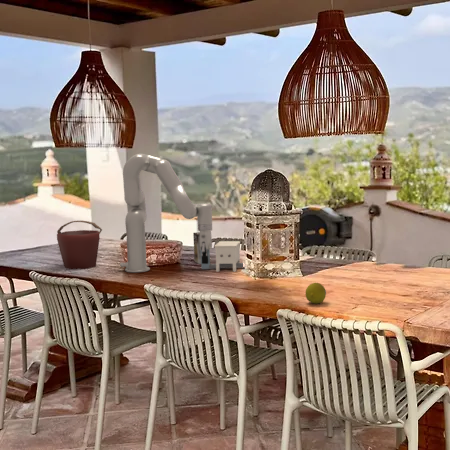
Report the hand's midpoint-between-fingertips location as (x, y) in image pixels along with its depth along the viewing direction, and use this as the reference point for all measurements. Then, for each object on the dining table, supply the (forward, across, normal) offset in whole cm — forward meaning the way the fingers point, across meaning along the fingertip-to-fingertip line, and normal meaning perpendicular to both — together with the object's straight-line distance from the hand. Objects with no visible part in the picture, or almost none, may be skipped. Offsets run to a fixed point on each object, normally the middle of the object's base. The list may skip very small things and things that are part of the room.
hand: (205, 262), depth 334 cm
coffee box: (+3, +19, +6) cm, 20 cm away
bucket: (+4, +5, +70) cm, 70 cm away
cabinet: (+3, 0, -12) cm, 12 cm away
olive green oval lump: (+3, -75, -57) cm, 94 cm away
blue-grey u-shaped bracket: (+3, 0, -9) cm, 9 cm away
